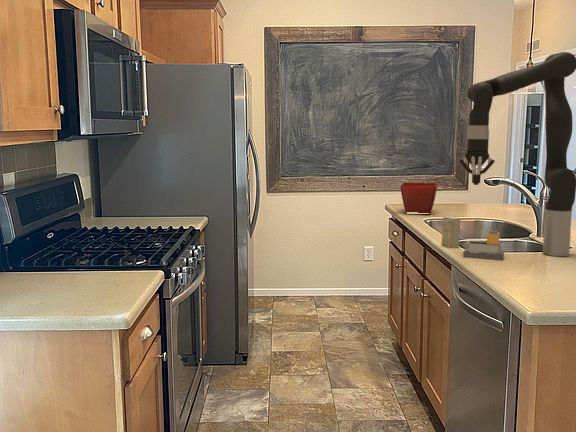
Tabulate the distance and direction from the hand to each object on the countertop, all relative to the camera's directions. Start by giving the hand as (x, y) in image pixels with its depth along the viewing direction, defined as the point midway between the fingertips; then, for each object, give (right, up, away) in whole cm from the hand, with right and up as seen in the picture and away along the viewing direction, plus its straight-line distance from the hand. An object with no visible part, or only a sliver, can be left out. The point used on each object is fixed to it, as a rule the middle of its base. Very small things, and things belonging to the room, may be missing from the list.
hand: (475, 184), depth 225 cm
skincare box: (-4, -24, +21) cm, 33 cm away
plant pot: (+4, -11, +117) cm, 118 cm away
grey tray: (+4, -27, +2) cm, 27 cm away
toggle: (+6, -25, +1) cm, 26 cm away
